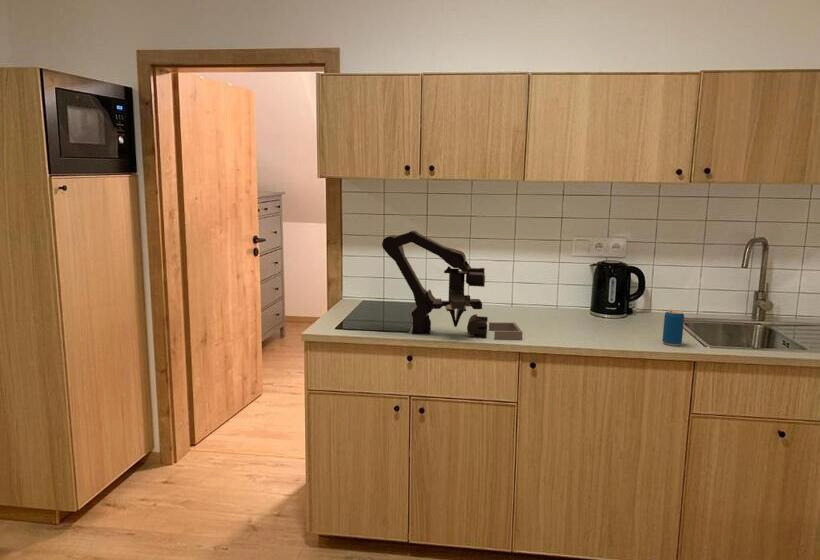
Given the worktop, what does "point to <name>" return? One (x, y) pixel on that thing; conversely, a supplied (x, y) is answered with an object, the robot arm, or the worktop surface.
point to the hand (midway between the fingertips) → (455, 326)
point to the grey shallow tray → (505, 331)
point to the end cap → (477, 326)
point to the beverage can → (673, 327)
